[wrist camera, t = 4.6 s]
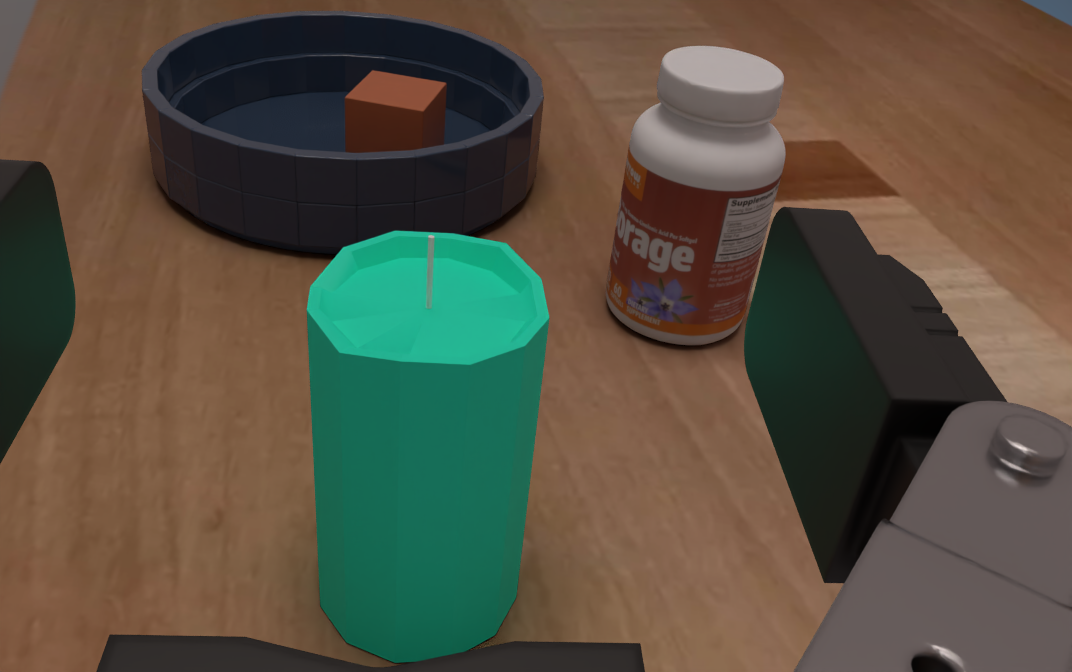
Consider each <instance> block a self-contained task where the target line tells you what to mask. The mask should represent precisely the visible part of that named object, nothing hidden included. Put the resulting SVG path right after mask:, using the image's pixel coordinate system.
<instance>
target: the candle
mask: <svg viewBox="0 0 1072 672" xmlns="http://www.w3.org/2000/svg"><path fill="white" fill-rule="evenodd" d="M548 325H549V314H548V309H547V304H546V299H545V294H544V289H543V285H542V280H541V278H540V277H539V276H538V275H537V274H536V273H535V272H534V271H533V270H532V269H531V268H530V267H529V266H528V265H527V264H526V263H525V262H524V261H523V260H522V259H521V258H520V257H519V256H518V255H517V254H516V253H515V252H514V250H513V249H512V248H511V247H510V246H509V245H508V244H507V243H502V242H497V241H492V240H486V239H481V238H475V237H470V236H465V235H459V234H454V233H434V232H413V231H392V232H389V233H386V234H383V235H380V236H377V237H374V238H371V239H368V240H365V241H361V242H358V243H355V244H352V245H349V246H346V247H343V248H342V249H341V251H340V252H339V253H338V254H337V255H336V257H335V258H334V259H333V260H332V261H331V262H330V264H329V265H328V266H327V267H326V268H325V270H324V271H323V272H322V273H321V274H320V276H319V277H318V278H317V279H316V280H315V282H314V283H313V284H312V285H311V286H310V292H309V299H308V305H307V326H308V347H309V369H310V391H311V413H312V435H313V457H314V479H315V501H316V523H317V545H318V567H319V589H320V606H321V608H322V609H323V611H324V612H325V613H326V615H327V616H328V618H329V619H330V620H331V622H332V623H333V625H334V626H335V627H336V629H337V630H338V631H339V633H340V634H341V636H342V637H343V638H344V640H345V641H346V643H349V644H351V645H354V646H356V647H358V648H361V649H363V650H366V651H368V652H370V653H373V654H375V655H377V656H380V657H382V658H385V659H387V660H389V661H392V662H394V663H401V662H417V661H422V660H426V659H431V658H436V657H441V656H446V655H451V654H456V653H460V652H465V651H467V650H469V649H471V648H473V647H475V646H476V645H478V644H480V643H482V642H484V641H485V640H487V639H489V638H491V637H493V636H494V635H495V634H496V633H497V631H498V629H499V627H500V626H501V624H502V622H503V620H504V618H505V617H506V615H507V613H508V611H509V610H510V608H511V606H512V604H513V602H514V601H515V599H516V595H517V587H518V578H519V570H520V562H521V553H522V545H523V536H524V528H525V519H526V511H527V502H528V494H529V486H530V477H531V469H532V460H533V452H534V443H535V435H536V426H537V418H538V410H539V401H540V393H541V384H542V376H543V367H544V359H545V351H546V342H547V334H548Z"/></svg>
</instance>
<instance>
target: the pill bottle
mask: <svg viewBox="0 0 1072 672" xmlns="http://www.w3.org/2000/svg"><path fill="white" fill-rule="evenodd" d="M783 84H784V75H783V74H782V72H781V71H780V70H779V69H778V68H777V67H776V66H775V65H773V64H772V63H770V62H768V61H766V60H764V59H762V58H760V57H757V56H755V55H752V54H749V53H745V52H741V51H738V50H733V49H728V48H722V47H714V46H689V47H682V48H678V49H674V50H672V51H670V52H668V53H667V54H666V55H665V56H664V57H663V60H662V63H661V68H660V73H659V78H658V82H657V90H658V92H657V95H658V99H659V100H660V102H661V103H659V104H656V105H654V106H652V107H651V108H649V109H647V110H646V111H645V112H644V113H643V114H642V115H641V116H640V117H639V118H638V120H637V121H636V123H635V125H634V127H633V130H632V134H631V139H630V144H629V149H628V156H627V162H626V168H625V175H624V181H623V187H622V192H621V200H620V206H619V211H618V218H617V224H616V230H615V237H614V242H613V248H612V254H611V260H610V266H609V272H608V278H607V286H606V298H607V302H608V305H609V307H610V309H611V311H612V312H613V314H614V315H615V316H616V317H617V318H618V319H619V320H620V321H621V322H622V323H624V324H625V325H626V326H628V327H629V328H631V329H632V330H634V331H636V332H638V333H640V334H642V335H645V336H647V337H650V338H653V339H656V340H659V341H662V342H667V343H672V344H680V345H703V344H708V343H713V342H715V341H718V340H721V339H723V338H725V337H727V336H728V335H730V334H731V333H733V332H734V331H735V330H736V329H737V328H738V327H739V325H740V324H741V322H742V320H743V317H744V315H745V311H746V308H747V304H748V300H749V296H750V292H751V289H752V285H753V281H754V277H755V273H756V269H757V265H758V262H759V258H760V254H761V250H762V246H763V242H764V239H765V235H766V231H767V227H768V223H769V219H770V216H771V212H772V208H773V204H774V201H775V197H776V193H777V189H778V186H779V182H780V178H781V175H782V170H783V166H784V162H785V146H784V142H783V140H782V137H781V135H780V134H779V132H778V131H777V129H776V128H775V127H774V126H773V125H772V124H771V123H770V122H769V121H771V120H772V119H773V118H774V117H775V116H776V113H777V109H778V107H779V103H780V98H781V94H782V89H783Z"/></svg>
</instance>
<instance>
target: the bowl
mask: <svg viewBox="0 0 1072 672" xmlns="http://www.w3.org/2000/svg"><path fill="white" fill-rule="evenodd" d="M373 70H374V71H380V72H386V73H391V74H397V75H403V76H409V77H415V78H421V79H427V80H432V81H438V82H444V83H446V84H447V87H446V110H445V133H444V145H439V146H433V147H427V148H422V149H416V150H406V151H386V152H365V153H350V152H346V149H345V97H346V96H347V95H348V94H349V93H350V92H351V91H352V90H353V89H354V88H355V87H356V86H357V85H358V84H359V83H360V82H361V81H362V80H363V79H364V78H365V77H366V76H367V75H368V74H369V73H370V72H371V71H373ZM142 93H143V100H144V107H145V115H146V122H147V130H148V137H149V144H150V152H151V159H152V166H153V174H154V176H155V178H156V179H157V180H158V182H159V183H160V185H161V186H162V188H163V189H164V190H165V192H166V193H167V195H168V196H169V198H171V199H172V200H174V201H175V202H176V203H178V204H179V205H181V206H182V207H183V208H184V209H185V210H187V211H188V212H189V213H191V214H192V215H193V216H194V217H196V218H198V219H199V220H201V221H203V222H204V223H206V224H208V225H210V226H211V227H214V228H216V229H218V230H221V231H223V232H225V233H228V234H230V235H233V236H236V237H239V238H242V239H245V240H248V241H251V242H255V243H259V244H263V245H267V246H272V247H276V248H282V249H288V250H294V251H301V252H311V253H322V254H338V253H339V252H340V251H341V249H342V248H343V247H346V246H349V245H352V244H355V243H358V242H361V241H365V240H368V239H371V238H374V237H377V236H380V235H383V234H386V233H389V232H392V231H413V232H434V233H454V234H459V235H465V236H467V235H470V234H473V233H475V232H477V231H479V230H481V229H483V228H485V227H487V226H489V225H491V224H492V223H494V222H495V221H497V220H498V219H500V218H501V217H503V216H504V215H505V214H506V213H507V212H508V211H509V210H511V209H512V208H513V207H514V206H515V205H517V204H518V203H519V202H520V201H522V200H523V199H524V198H525V196H526V195H527V193H528V191H529V189H530V187H531V185H532V183H533V181H534V179H535V177H536V170H537V160H538V150H539V140H540V131H541V121H542V111H543V101H544V95H543V88H542V81H541V78H540V77H539V76H538V74H537V73H536V72H535V71H534V69H533V68H532V67H531V66H530V65H529V63H528V62H527V61H526V60H524V59H523V58H521V57H520V56H518V55H517V54H515V53H513V52H512V51H510V50H509V49H507V48H506V47H504V46H503V45H501V44H498V43H496V42H494V41H491V40H489V39H486V38H484V37H481V36H479V35H476V34H474V33H471V32H469V31H465V30H462V29H458V28H454V27H450V26H447V25H443V24H439V23H435V22H432V21H431V22H430V21H425V20H419V19H413V18H407V17H401V16H395V15H387V14H375V13H362V12H349V11H299V12H298V11H297V12H286V13H276V14H265V15H256V16H251V17H246V18H241V19H236V20H231V21H226V22H221V23H216V24H212V25H210V26H207V27H204V28H201V29H198V30H195V31H192V32H190V33H187V34H184V35H182V36H180V37H178V38H176V39H175V40H173V41H171V42H170V43H168V44H166V45H165V46H163V47H162V48H160V49H158V50H157V51H156V52H155V53H154V54H153V55H152V57H151V58H150V60H149V61H148V62H147V64H146V65H145V66H144V68H143V69H142Z"/></svg>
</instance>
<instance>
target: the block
mask: <svg viewBox="0 0 1072 672" xmlns="http://www.w3.org/2000/svg"><path fill="white" fill-rule="evenodd" d="M446 87H447V84H446V83H444V82H438V81H432V80H427V79H421V78H415V77H409V76H403V75H397V74H391V73H386V72H380V71H374V70H373V71H371V72H370V73H369V74H368V75H367V76H366V77H365V78H364V79H363V80H362V81H361V82H360V83H359V84H358V85H357V86H356V87H355V88H354V89H353V90H352V91H351V92H350V93H349V94H348V95H347V96H346V97H345V149H346V152H350V153H365V152H386V151H406V150H416V149H422V148H427V147H433V146H439V145H444V133H445V110H446Z"/></svg>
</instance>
